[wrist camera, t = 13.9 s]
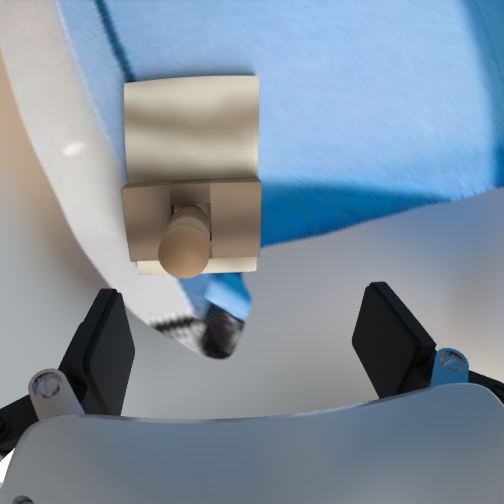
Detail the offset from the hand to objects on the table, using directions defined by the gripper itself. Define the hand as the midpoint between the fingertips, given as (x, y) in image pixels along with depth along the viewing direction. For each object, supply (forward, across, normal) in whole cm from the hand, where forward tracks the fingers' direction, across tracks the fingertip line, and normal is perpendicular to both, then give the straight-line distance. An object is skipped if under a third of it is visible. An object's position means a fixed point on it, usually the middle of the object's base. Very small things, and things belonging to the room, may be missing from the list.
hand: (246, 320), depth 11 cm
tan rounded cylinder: (+23, +4, +4) cm, 23 cm away
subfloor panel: (+24, +4, 0) cm, 24 cm away
